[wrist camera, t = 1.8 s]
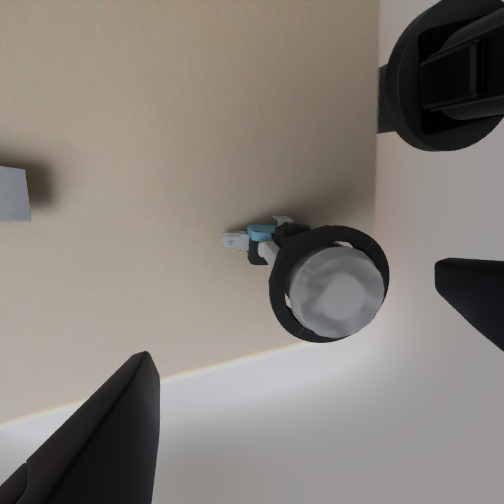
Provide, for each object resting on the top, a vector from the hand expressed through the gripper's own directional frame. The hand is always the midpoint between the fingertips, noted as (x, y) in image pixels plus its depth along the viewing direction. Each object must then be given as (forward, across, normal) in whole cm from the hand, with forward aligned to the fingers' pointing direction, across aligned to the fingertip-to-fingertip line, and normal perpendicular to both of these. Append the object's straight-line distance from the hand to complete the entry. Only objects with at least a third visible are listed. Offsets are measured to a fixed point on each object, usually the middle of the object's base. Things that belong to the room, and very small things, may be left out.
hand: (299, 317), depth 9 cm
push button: (+12, -2, +1) cm, 13 cm away
